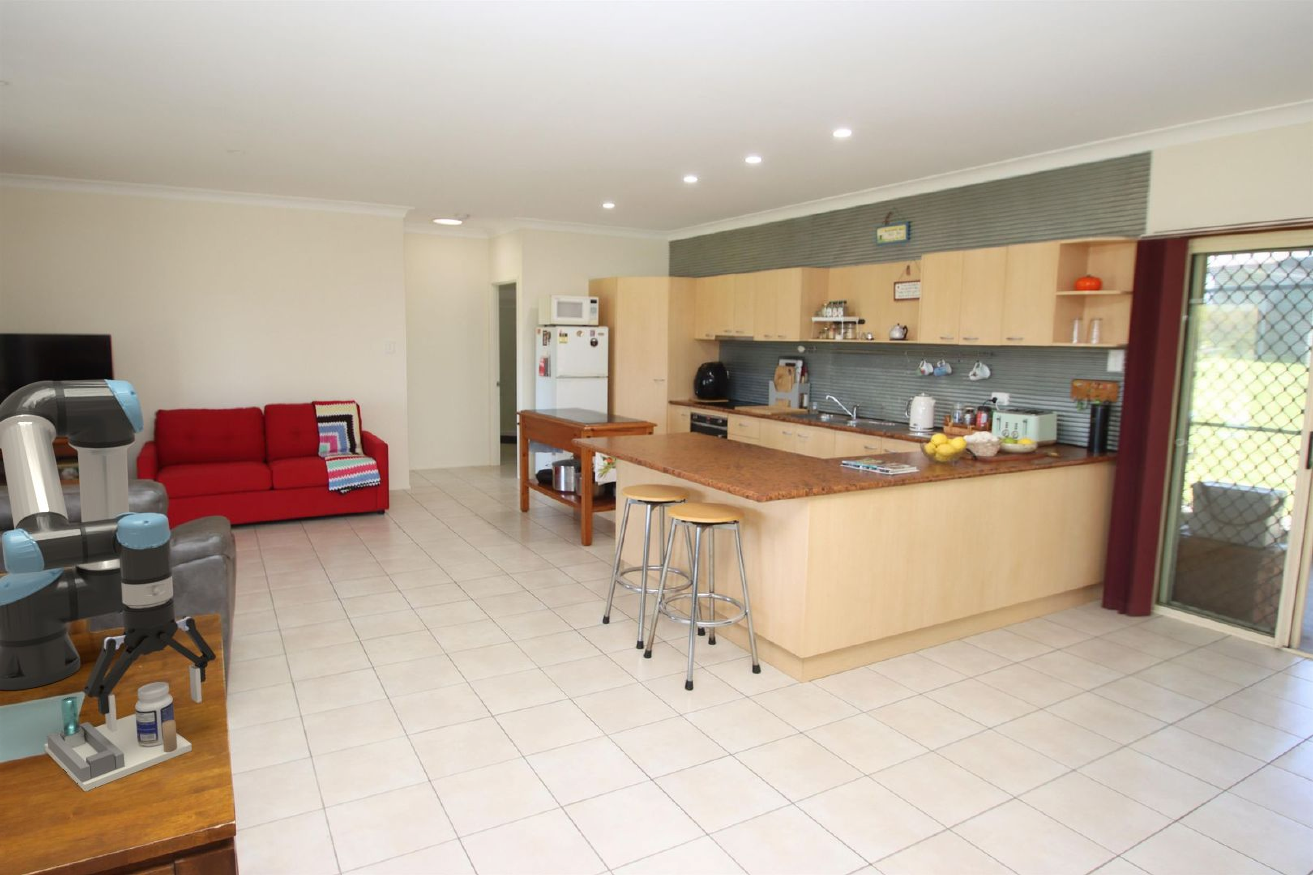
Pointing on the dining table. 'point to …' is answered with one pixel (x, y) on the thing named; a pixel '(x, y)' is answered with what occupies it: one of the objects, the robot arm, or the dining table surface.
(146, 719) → the pill bottle
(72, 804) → the dining table surface
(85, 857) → the dining table surface
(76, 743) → the pin
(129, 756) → the board
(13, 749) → the dining table surface
